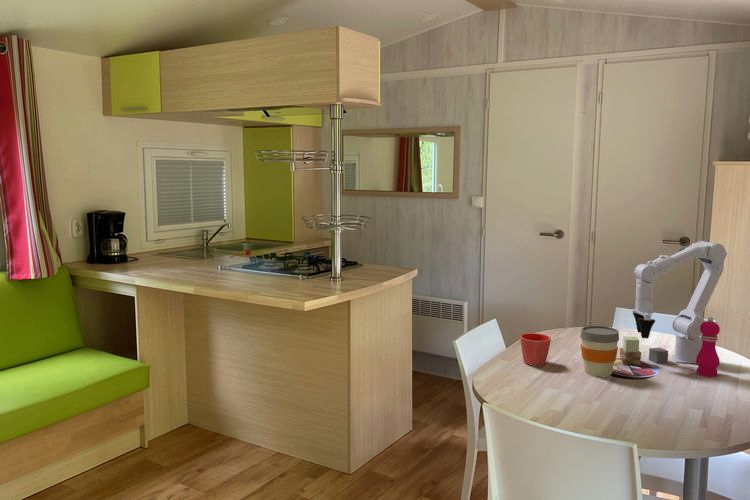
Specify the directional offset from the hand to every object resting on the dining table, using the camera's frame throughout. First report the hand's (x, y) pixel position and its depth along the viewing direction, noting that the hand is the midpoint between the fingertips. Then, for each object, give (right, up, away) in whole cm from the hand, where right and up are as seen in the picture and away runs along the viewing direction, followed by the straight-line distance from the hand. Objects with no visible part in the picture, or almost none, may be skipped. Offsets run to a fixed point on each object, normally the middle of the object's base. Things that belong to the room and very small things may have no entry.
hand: (642, 335), depth 229 cm
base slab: (-4, -11, +2) cm, 12 cm away
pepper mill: (+17, -12, -11) cm, 24 cm away
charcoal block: (+7, -10, +3) cm, 12 cm away
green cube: (-4, -6, +1) cm, 7 cm away
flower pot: (-38, -11, +2) cm, 40 cm away
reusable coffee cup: (-19, -12, -9) cm, 24 cm away
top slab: (-4, -8, +2) cm, 9 cm away
